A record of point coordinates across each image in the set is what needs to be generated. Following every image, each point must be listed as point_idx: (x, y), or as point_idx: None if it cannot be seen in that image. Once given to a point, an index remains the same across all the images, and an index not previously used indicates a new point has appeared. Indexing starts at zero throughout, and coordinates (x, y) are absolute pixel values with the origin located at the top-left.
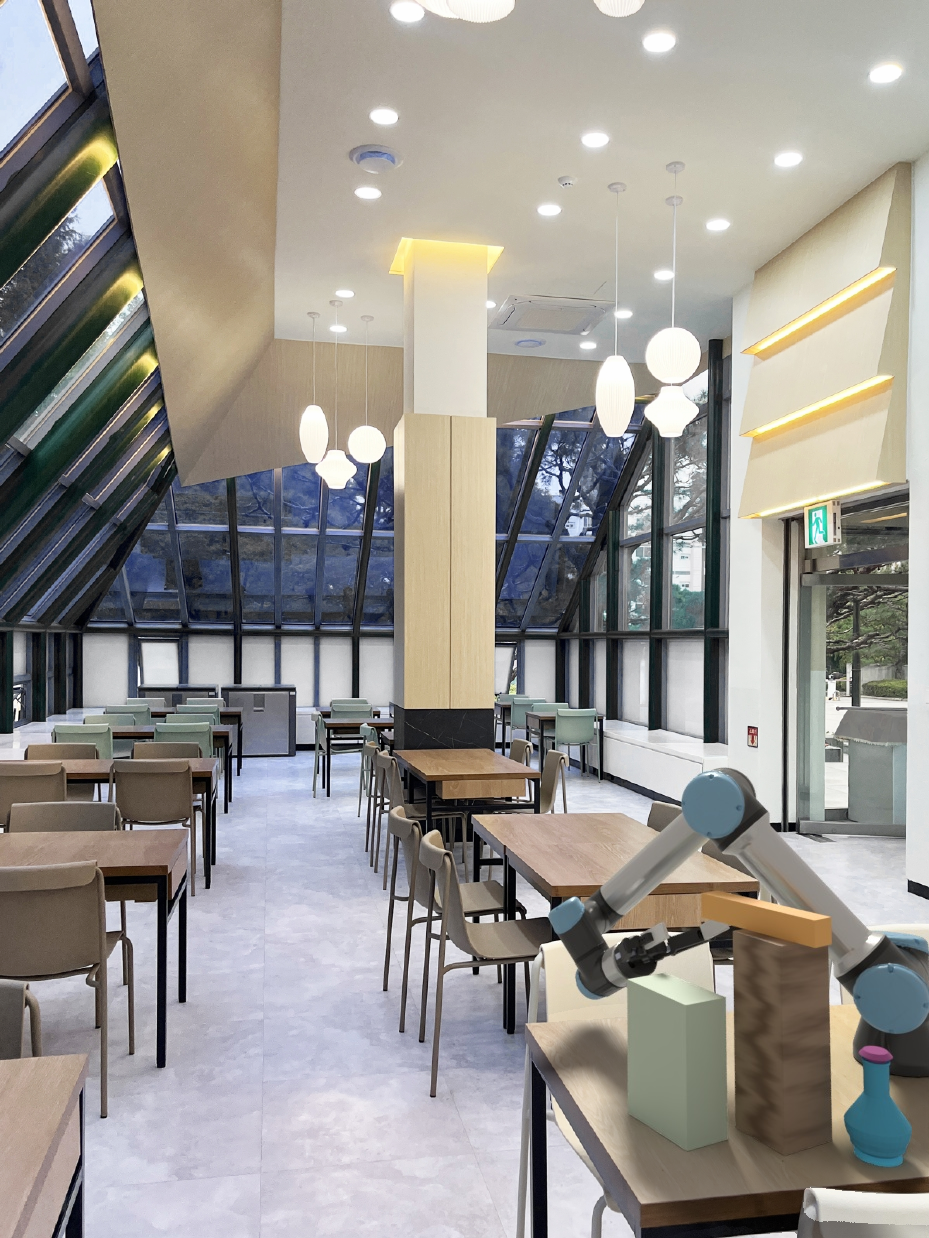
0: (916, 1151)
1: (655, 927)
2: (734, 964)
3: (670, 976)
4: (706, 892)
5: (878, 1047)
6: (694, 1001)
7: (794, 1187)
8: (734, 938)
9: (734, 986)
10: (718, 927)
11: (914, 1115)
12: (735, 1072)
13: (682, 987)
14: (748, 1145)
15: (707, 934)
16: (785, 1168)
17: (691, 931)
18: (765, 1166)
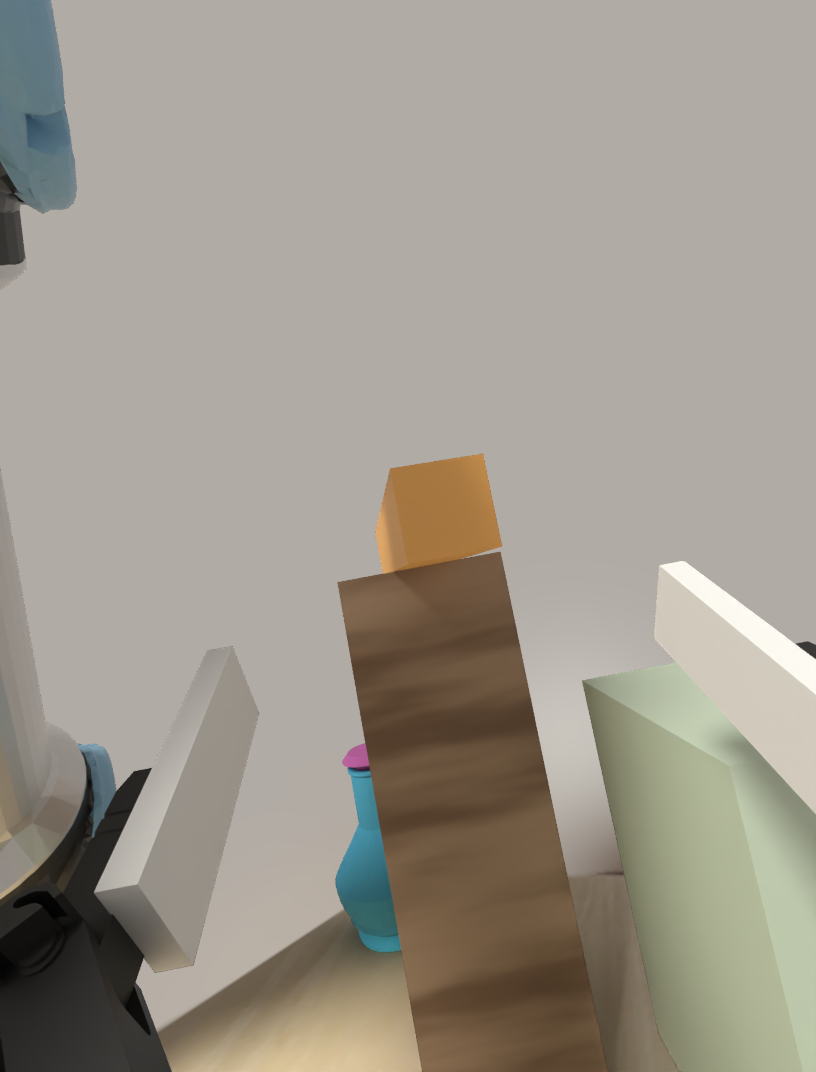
0: (331, 921)
1: (726, 604)
2: (517, 636)
3: (711, 743)
4: (458, 459)
5: (351, 754)
6: (674, 665)
7: (592, 877)
8: (502, 570)
9: (529, 693)
10: (235, 742)
11: (179, 1023)
12: (576, 928)
13: (684, 699)
14: (614, 997)
15: (202, 877)
16: (578, 916)
17: (130, 1052)
18: (612, 927)
